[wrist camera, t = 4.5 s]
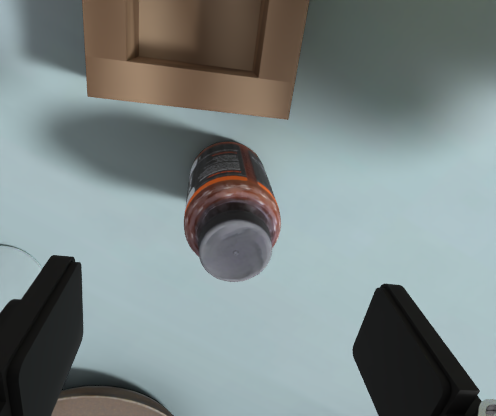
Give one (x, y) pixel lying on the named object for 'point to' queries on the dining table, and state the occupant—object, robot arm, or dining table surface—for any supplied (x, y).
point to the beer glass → (15, 273)
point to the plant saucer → (106, 403)
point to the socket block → (195, 53)
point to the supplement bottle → (231, 212)
